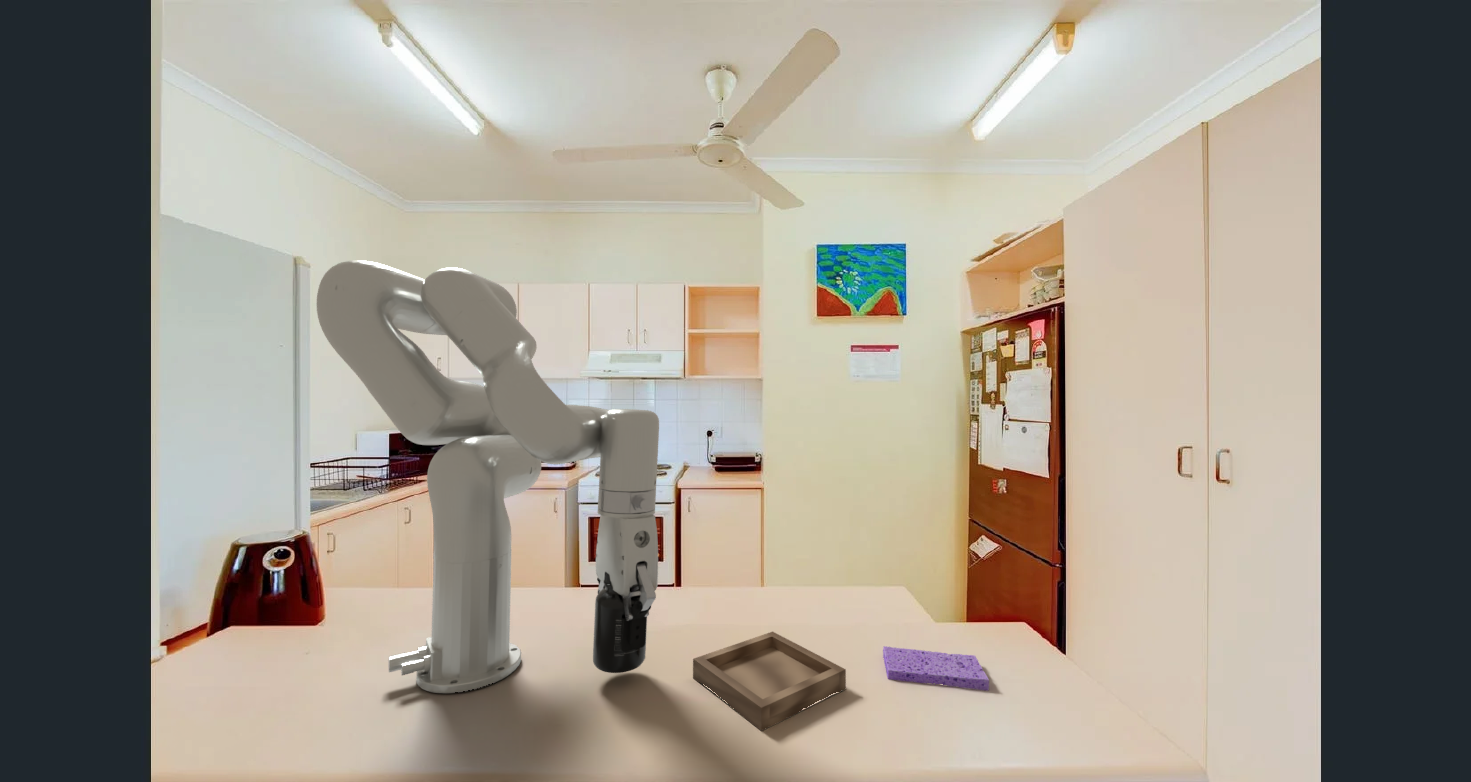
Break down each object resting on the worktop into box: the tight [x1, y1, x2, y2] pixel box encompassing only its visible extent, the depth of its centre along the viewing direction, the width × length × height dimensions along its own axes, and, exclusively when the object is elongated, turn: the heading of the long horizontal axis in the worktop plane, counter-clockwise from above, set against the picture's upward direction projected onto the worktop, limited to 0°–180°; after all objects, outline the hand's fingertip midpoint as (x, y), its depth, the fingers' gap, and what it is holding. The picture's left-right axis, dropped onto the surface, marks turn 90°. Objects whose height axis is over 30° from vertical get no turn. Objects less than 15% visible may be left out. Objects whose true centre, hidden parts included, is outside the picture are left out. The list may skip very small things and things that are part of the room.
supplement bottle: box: [592, 572, 648, 674], centre depth 67 cm, size 7×7×12 cm
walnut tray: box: [692, 631, 847, 732], centre depth 66 cm, size 14×14×2 cm
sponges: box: [882, 645, 990, 691], centre depth 69 cm, size 7×13×2 cm, turn 77°
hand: (620, 636), depth 67 cm, fingers closed on supplement bottle, 6 cm apart
